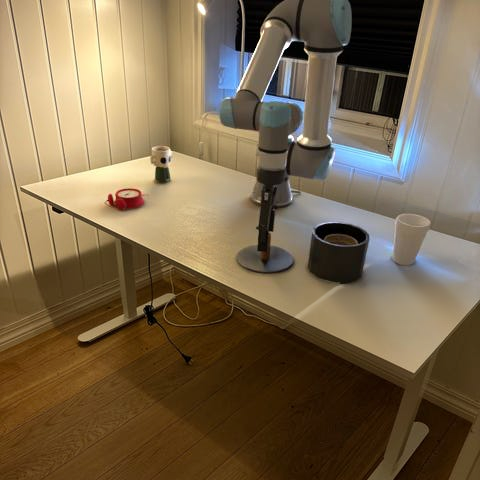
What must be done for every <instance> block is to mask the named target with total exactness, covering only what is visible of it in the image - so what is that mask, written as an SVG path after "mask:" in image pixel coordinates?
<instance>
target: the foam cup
mask: <svg viewBox="0 0 480 480" xmlns="http://www.w3.org/2000/svg"><path fill="white" fill-rule="evenodd" d="M430 228H431V220H430V219H428V218H427V217H425V216H423V215H420V214H415V213H401V214H399V215H397V216H396V219H395V222H394V237H393V248H392V261H393V262H394V263H396V264H398V265H401V266H411V265H413V264H414V263H415V260H416V258H417V256H418V254H419V252H420V249H421V247H422V245H423V243H424V240H425V238H426V236H427V233H428V232H429V230H430Z"/></svg>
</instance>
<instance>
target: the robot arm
mask: <svg viewBox="0 0 480 480" xmlns="http://www.w3.org/2000/svg"><path fill="white" fill-rule="evenodd" d="M352 14H353V13H352V7H351V3H350V2H349V0H283V1H281V2H280V3H278V4H277V5H276V6H275V7H274V8H273V9H272V10H271V11H270V13H268V15H267V16H266V18H265V19H264V21H263V22H262V25H261V28H260V39H259V41H258V43H257V45H256V48H255V50H254V52H253V55H252V56H251V59H250V61H249V63H248V66H247V67H246V70H245V73H244V75H243V77H242V79H241V81H240V84H239V85H238V88H237V90H236V92H235V94H234V96H233V97H232V96H229V97H224V98H223V99H222V100H221V102H220V105H219V110H218V111H219V112H218V113H219V114H218V116H219V120H220V123H221V125H222V126H223V127H226V128H230V129H235V130H244V131H253V132H258V144H257V145H258V148H257V151H256V152H255V156H256V157H257V167H256V176H255V180H256V181H255V184H254V186H253V189H252V192H251V201H252V202H253V203H255V204H256V205H259V206H260V209H259V217H258V218H259V219H258V223H257V226H256V227H255V230H256V231H258V234H257V245H258V247H257V251H262V252H267V248H268V236H269V233H274V230H275V229H274V228H275V218H276V217H275V216H276V211H278V209H279V208H280V207H281V208H282V207H285V206H288V205H290V204H292V202H293V201H292V200H293V194H294V193H295V194H301V192H302V191H300V190H292V189H291V185H290V176H291V177H298V178H302V179H307V180H309V179H310V180H313V181H314V180H317V181H323V180H325V179H327V177H328V176H329V173H330V171H331V168H332V165H333V162H334V159H335V156H336V155H335V154H336V147H335V146H334V145H332V138H331V137H330V136H329V129H330V128H329V126H330V118H331V110H332V103H333V101H332V100H333V95H334V94H333V93H334V87H335V86H334V85H335V77H336V69H337V59H338V56H340V54H342V53H343V51H344V46H348V45H349V43H350V40H351V33H352V24H353V23H352V21H353V19H352V18H353V17H352ZM292 42H301V43H304V48H303V50H304V52H305V53H306V54H307V55H308V62H307V73H306V86H305V96H304V97H305V98H304V107H303V108H304V109H302V108H301V107H300V105H299V104H297V103H296V102H292V101H288V102H287V101H286V102H284V101H279V100H278V101H275V100H274V101H273V100H272V101H271V100H270V101H263V99H264V97H265V95H266V92H267V90H268V88H269V86H270V82H272V81H271V80H272V79H273V76H274V74H275V71H276V69H277V67H278V65H279V62H280V60H281V57H282V56H283V53H284V51H285V50H286V49H287V48H289V47H290V45H291V43H292ZM302 123H303V124H302ZM301 125H302V133H301V134H300V135H299V136H298V137H297V140H294V137H293V135H292V134H293V133H295V132H297V131H298V130H299V128H300V127H301Z"/></svg>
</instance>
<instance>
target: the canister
mask: <svg viewBox="0 0 480 480" xmlns="http://www.w3.org/2000/svg"><path fill="white" fill-rule="evenodd" d="M332 234H342V235H347V236H350V237H352V238H354V239H355V240H356V241H357V242H358V244H357V245H336V244H331V243H329V242H326V241H324V238H325V237H326V236H328V235H332ZM369 243H370V234H369V233H368V232H367V231H366V230H365V229H364V228H362V227H360V226H358V225H355V224H351V223H348V222H342V221H327V222H322V223H319V224H316V225H315V226H314V227H313V228H312V230H311V236H310V245H309V246H310V247H309V253H308V260H307V266H306V267H307V269H308V271H309V273H310V274H312V275H313V276H314V277H316V278H318V279H321V280H323V281H327V282H332V283H338V284H339V285H345V284H351V283H355V282H357V281H359V280H360V279H361V277H362V275H363V271H364V267H365V263H366V258H367V253H368V248H369Z"/></svg>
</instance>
